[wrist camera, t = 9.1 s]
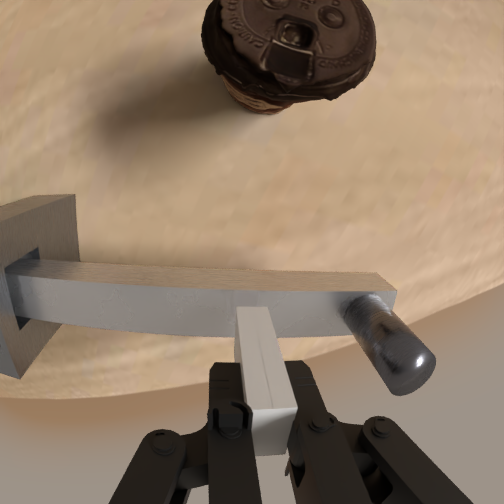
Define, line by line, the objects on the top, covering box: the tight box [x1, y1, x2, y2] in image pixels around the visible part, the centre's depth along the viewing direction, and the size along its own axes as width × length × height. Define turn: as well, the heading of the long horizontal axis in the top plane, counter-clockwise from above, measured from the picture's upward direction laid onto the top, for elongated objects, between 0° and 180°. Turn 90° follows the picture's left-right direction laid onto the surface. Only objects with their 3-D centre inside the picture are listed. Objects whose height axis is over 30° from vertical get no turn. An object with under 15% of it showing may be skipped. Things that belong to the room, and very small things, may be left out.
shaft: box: [4, 258, 436, 396], centre depth 14 cm, size 26×3×9 cm, turn 86°
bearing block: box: [0, 194, 80, 379], centre depth 18 cm, size 5×10×13 cm, turn 176°
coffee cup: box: [201, 0, 376, 114], centre depth 16 cm, size 9×8×13 cm
